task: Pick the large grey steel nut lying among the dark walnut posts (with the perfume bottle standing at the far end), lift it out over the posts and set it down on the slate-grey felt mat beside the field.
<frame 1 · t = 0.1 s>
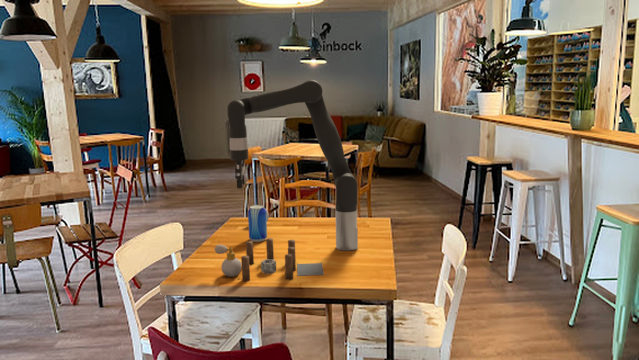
hand: (240, 186, 200), 29 cm above the table, tool pointing down, fingers open, 8 cm apart
felt mat: (310, 269, 184), on the table
beer can: (258, 240, 222), on the table
nut: (268, 271, 183), on the table
donut: (259, 225, 245), on the table
post field: (268, 271, 183), on the table
perfume bottle: (229, 276, 179), on the table
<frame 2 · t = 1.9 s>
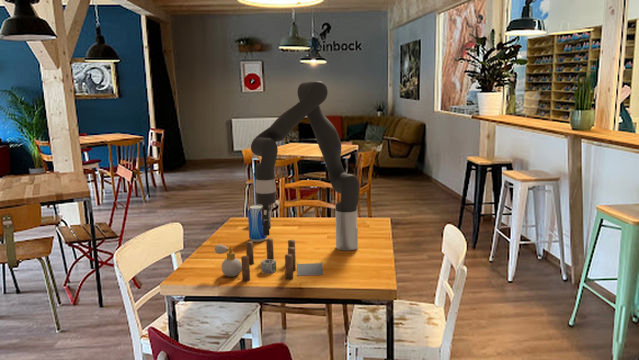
hand: (267, 232, 180), 16 cm above the table, tool pointing down, fingers open, 8 cm apart
nothing on the table moved.
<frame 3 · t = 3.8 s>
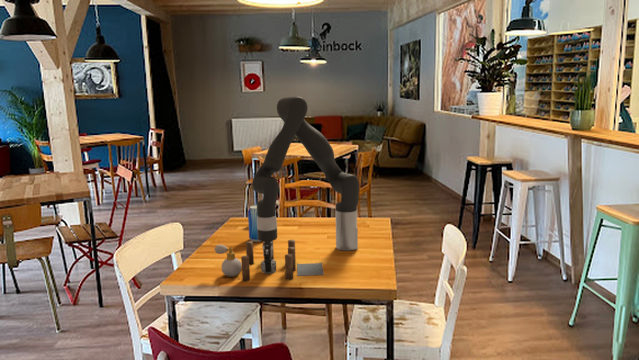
hand: (268, 268, 183), 1 cm above the table, tool pointing down, fingers closed on nut, 5 cm apart
nut: (268, 271, 183), on the table, touching gripper
everything else where it was.
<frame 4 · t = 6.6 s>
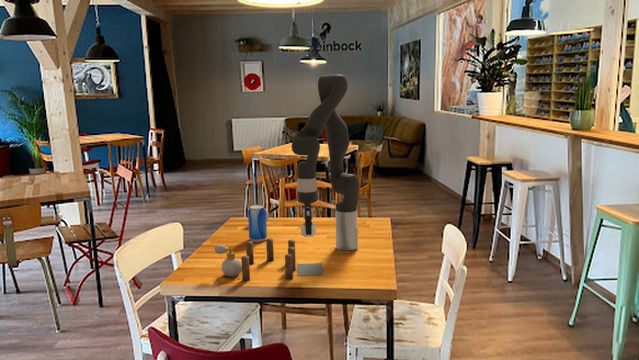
hand: (308, 232, 181), 15 cm above the table, tool pointing down, fingers closed on nut, 5 cm apart
nut: (308, 234, 181), point 14 cm above the table, touching gripper
everything else where it was.
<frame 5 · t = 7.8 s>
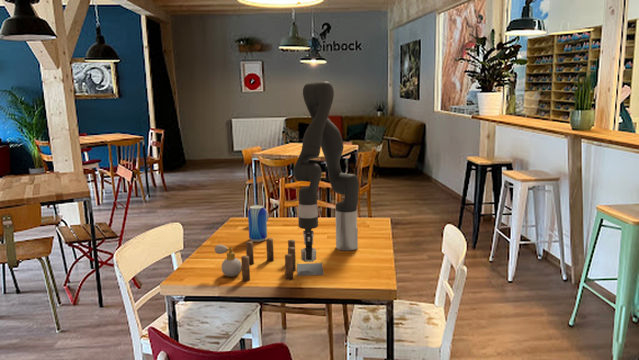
hand: (308, 257, 183), 5 cm above the table, tool pointing down, fingers closed on nut, 5 cm apart
nut: (308, 259, 183), point 4 cm above the table, touching gripper
everything else where it was.
when the fingers open (3 cm above the table, at t = 8.9 s): nut drops 2 cm, resting on felt mat.
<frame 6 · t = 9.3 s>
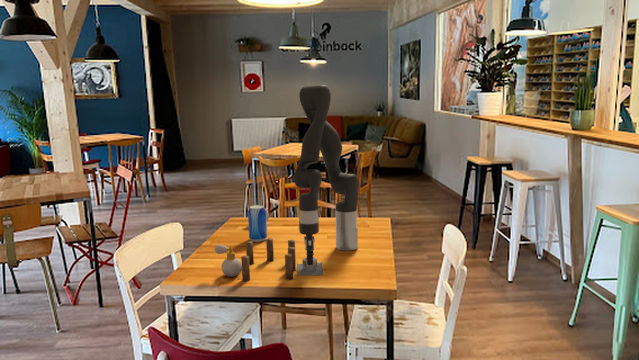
hand: (309, 260, 183), 4 cm above the table, tool pointing down, fingers open, 8 cm apart
nut: (310, 269, 184), resting on felt mat
everything else where it was.
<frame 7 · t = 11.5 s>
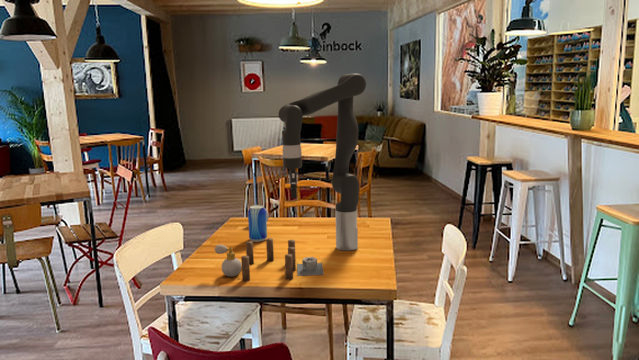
hand: (293, 195, 190), 27 cm above the table, tool pointing down, fingers open, 8 cm apart
nothing on the table moved.
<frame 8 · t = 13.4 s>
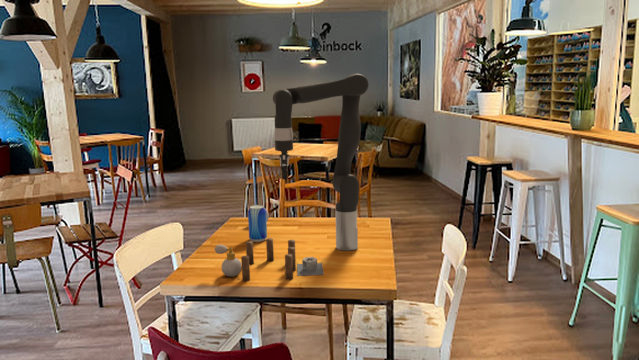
hand: (285, 177, 197), 33 cm above the table, tool pointing down, fingers open, 8 cm apart
nothing on the table moved.
at the end: nut inside the target area (0.0 cm from its centre), resting on felt mat; nut moved 16.0 cm from its start; the gripper is holding nothing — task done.
